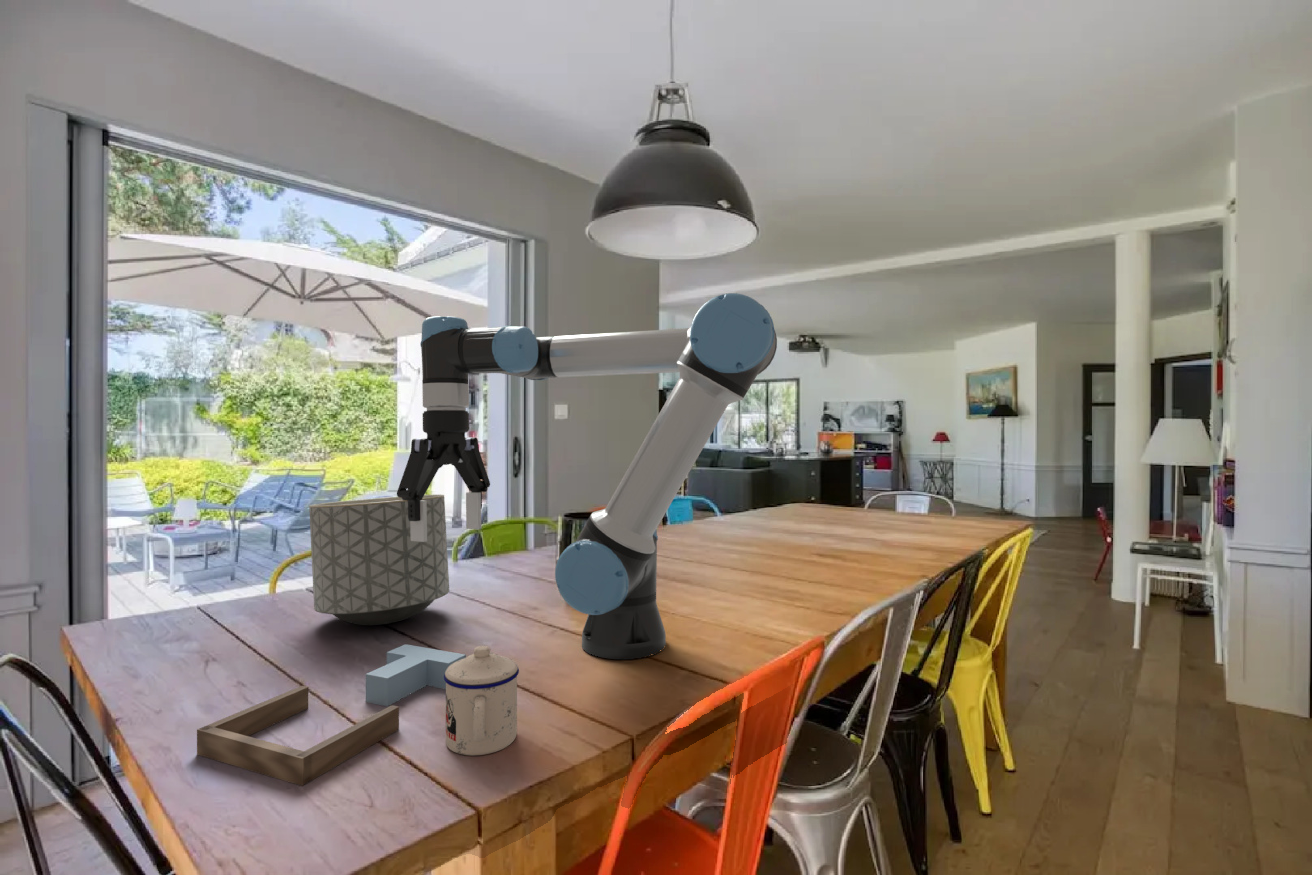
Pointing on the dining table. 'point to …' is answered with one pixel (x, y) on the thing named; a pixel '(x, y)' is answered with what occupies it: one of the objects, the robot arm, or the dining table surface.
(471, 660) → the teacup with lid
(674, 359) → the robot arm
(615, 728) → the dining table surface
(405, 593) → the planter
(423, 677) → the t block
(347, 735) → the frame
